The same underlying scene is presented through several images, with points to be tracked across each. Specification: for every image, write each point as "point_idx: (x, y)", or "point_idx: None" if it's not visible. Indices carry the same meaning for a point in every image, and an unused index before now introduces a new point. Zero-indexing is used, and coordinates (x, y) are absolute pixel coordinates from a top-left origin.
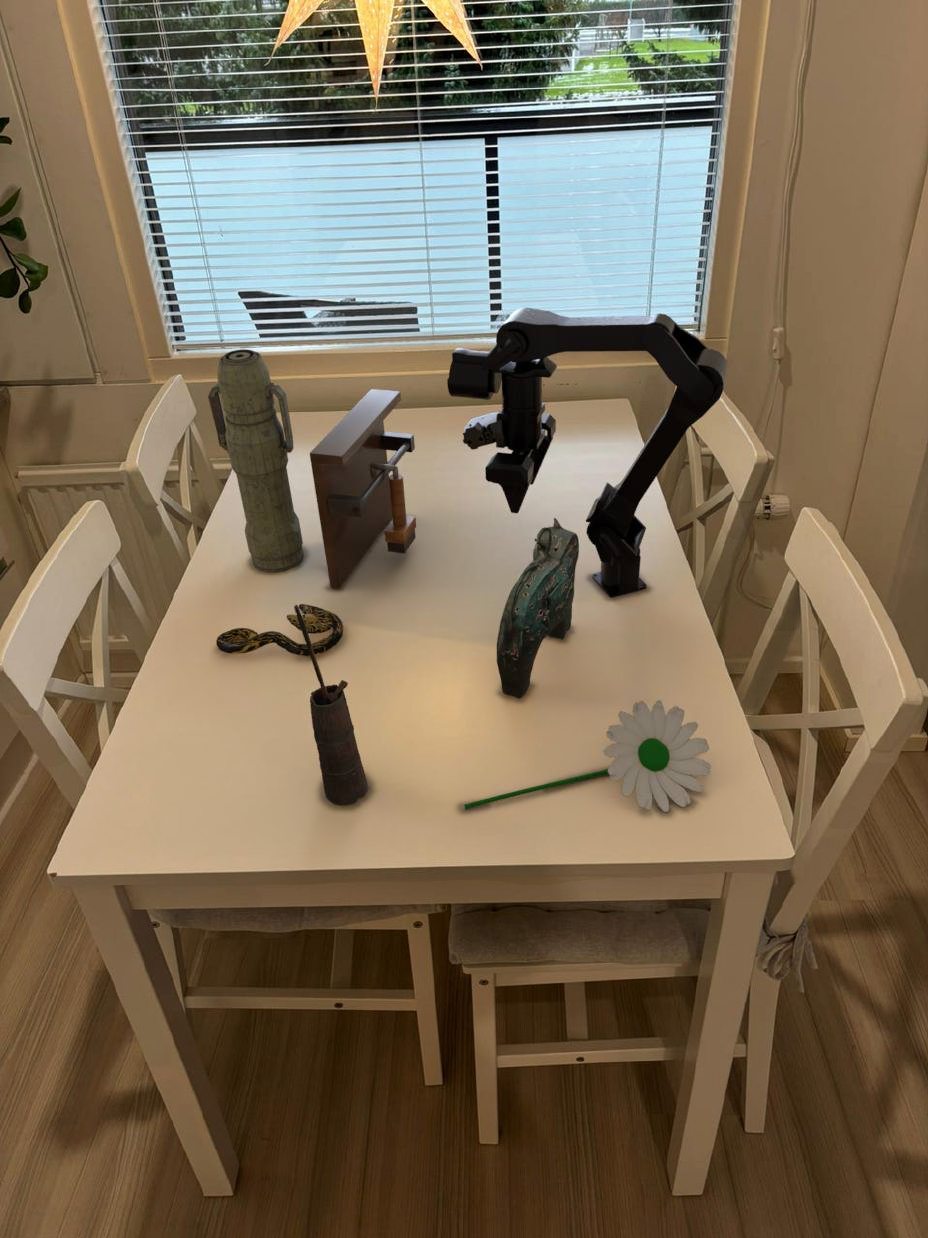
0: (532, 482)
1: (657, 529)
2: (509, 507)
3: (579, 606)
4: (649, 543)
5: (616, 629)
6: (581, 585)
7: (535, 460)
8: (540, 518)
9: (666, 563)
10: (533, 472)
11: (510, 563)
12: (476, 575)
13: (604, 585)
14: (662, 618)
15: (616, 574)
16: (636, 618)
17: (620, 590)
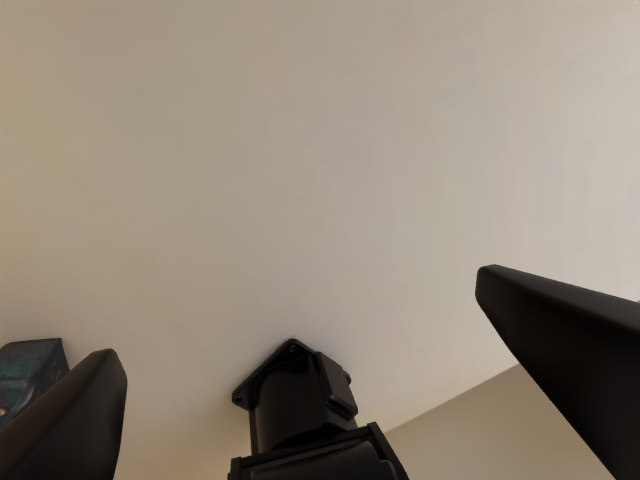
0: (482, 307)
1: (499, 362)
2: (54, 385)
3: (170, 359)
4: (449, 369)
5: (131, 441)
6: (254, 329)
7: (627, 435)
8: (525, 121)
9: (388, 415)
10: (534, 353)
11: (279, 132)
12: (165, 49)
13: (260, 378)
14: (212, 476)
15: (256, 435)
16: (189, 450)
17: (249, 414)
